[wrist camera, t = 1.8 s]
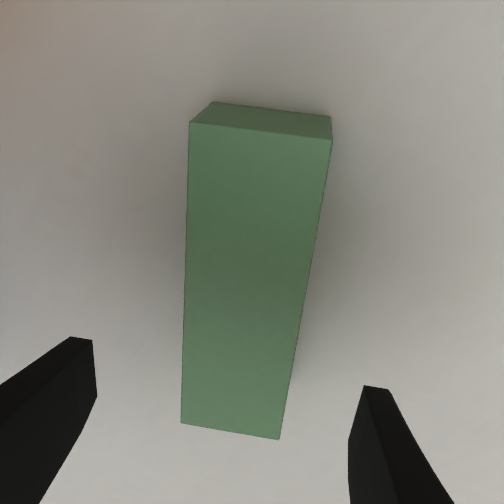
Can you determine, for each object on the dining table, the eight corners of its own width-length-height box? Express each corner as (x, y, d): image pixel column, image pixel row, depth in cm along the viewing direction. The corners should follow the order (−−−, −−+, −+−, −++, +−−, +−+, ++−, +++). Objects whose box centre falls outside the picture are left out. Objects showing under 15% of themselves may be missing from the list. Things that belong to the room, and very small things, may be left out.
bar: (211, 101, 15) (188, 120, 13) (331, 116, 15) (333, 139, 12) (197, 371, 21) (180, 423, 18) (284, 386, 21) (279, 441, 18)
